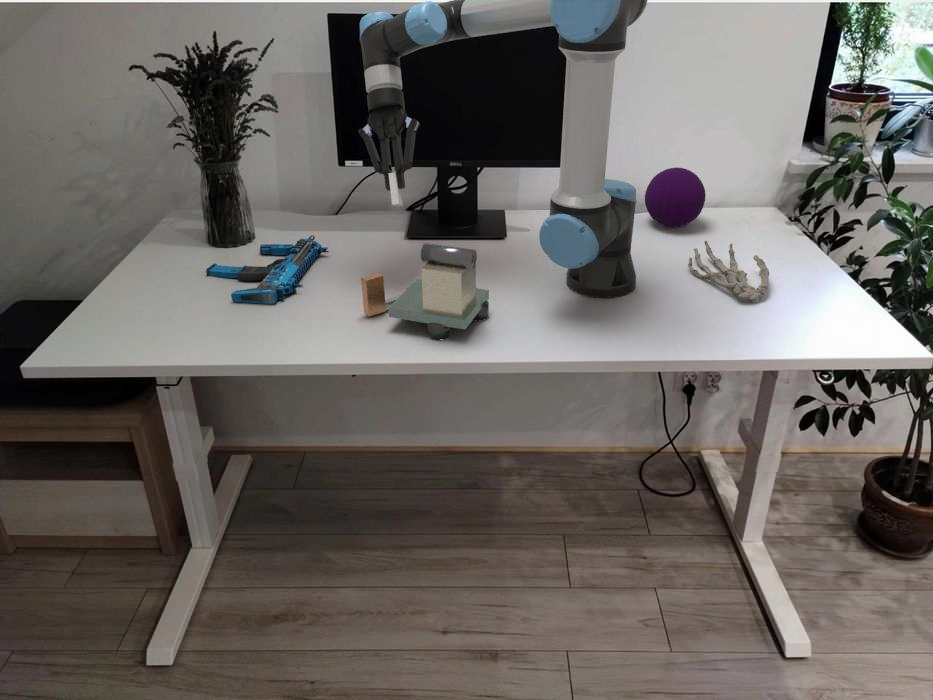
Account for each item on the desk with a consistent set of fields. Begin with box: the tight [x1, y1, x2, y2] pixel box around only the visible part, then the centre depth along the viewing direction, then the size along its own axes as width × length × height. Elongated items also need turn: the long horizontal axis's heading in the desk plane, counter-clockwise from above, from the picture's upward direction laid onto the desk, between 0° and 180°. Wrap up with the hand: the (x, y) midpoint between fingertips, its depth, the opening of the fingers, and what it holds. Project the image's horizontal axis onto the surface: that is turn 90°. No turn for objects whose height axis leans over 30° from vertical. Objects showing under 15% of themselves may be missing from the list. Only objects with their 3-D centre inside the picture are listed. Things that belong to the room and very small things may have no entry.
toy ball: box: [644, 167, 706, 228], centre depth 201 cm, size 15×15×15 cm
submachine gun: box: [205, 234, 329, 305], centre depth 182 cm, size 34×4×25 cm
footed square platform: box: [387, 242, 490, 341], centre depth 155 cm, size 17×15×17 cm
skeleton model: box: [687, 240, 770, 303], centre depth 175 cm, size 24×13×5 cm, turn 22°
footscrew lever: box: [360, 272, 410, 317], centre depth 163 cm, size 15×5×8 cm, turn 127°
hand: (397, 205), depth 163 cm, fingers closed
